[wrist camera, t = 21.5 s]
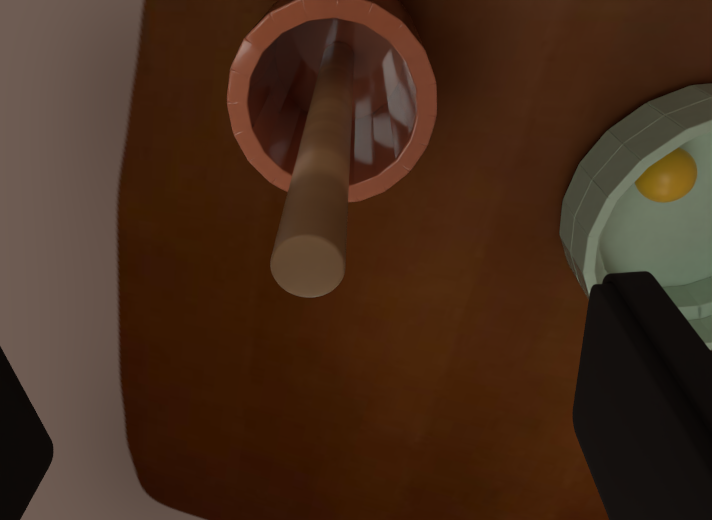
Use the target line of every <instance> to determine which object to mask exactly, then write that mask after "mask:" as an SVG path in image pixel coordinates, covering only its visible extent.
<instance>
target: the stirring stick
mask: <svg viewBox="0 0 712 520" xmlns="http://www.w3.org/2000/svg"><path fill="white" fill-rule="evenodd" d="M353 79H354V53H353V51H352V49H351V48H350V46H348V45H347V44H345V43H343V42H334V43H331V44H330V45H328V46H327V47H326V49H325V51H324V53H323V57H322V61H321V65H320V69H319V73H318V76H317V80H316V84H315V88H314V92H313V96H312V100H311V104H310V108H309V112H308V115H307V119H306V123H305V127H304V131H303V135H302V139H301V143H300V147H299V151H298V155H297V158H296V162H295V166H294V170H293V174H292V178H291V182H290V186H289V190H288V194H287V197H286V201H285V205H284V209H283V213H282V217H281V221H280V225H279V229H278V233H277V236H276V240H275V244H274V248H273V252H272V256H271V262H270V266H271V271H272V274H273V276H274V278H275V280H276V281H277V283H278V284H279V285H280V286H281V287H282V288H283V289H285V290H286V291H287V292H289V293H291V294H294V295H296V296H300V297H318V296H322V295H325V294H327V293H329V292H331V291H332V290H333V289H335V288H336V287H337V286H338V285H339V283H340V282H341V280H342V279H343V276H344V273H345V261H346V238H347V216H348V193H349V170H350V147H351V125H352V102H353Z"/></svg>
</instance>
